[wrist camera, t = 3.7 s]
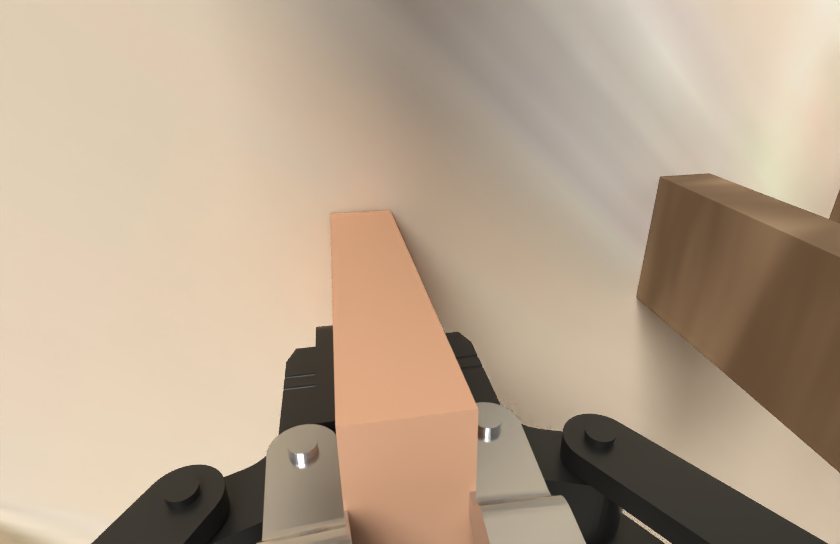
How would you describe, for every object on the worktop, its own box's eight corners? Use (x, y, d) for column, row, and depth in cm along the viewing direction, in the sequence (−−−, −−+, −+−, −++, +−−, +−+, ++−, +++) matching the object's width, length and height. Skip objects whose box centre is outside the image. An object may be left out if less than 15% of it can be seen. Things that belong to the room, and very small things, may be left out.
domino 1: (390, 209, 17) (478, 409, 7) (395, 339, 19) (471, 640, 9) (330, 213, 17) (335, 426, 7) (342, 344, 19) (359, 662, 9)
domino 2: (709, 173, 19) (1121, 331, 9) (680, 292, 21) (989, 522, 11) (659, 176, 19) (1031, 343, 9) (636, 297, 21) (913, 536, 11)
